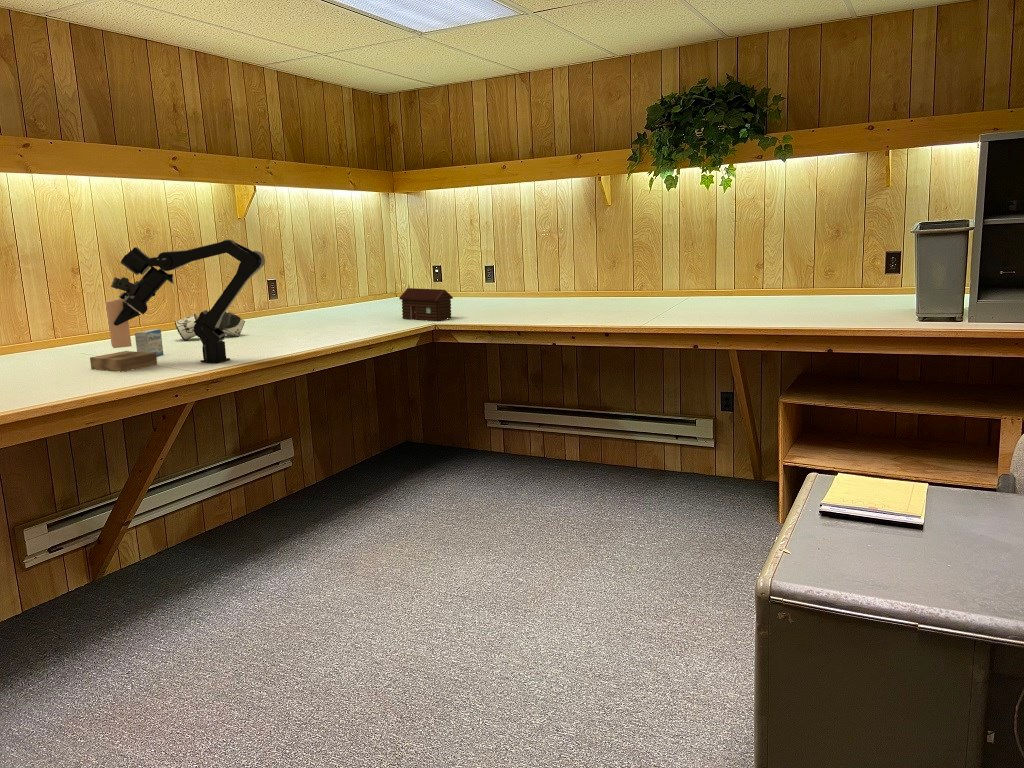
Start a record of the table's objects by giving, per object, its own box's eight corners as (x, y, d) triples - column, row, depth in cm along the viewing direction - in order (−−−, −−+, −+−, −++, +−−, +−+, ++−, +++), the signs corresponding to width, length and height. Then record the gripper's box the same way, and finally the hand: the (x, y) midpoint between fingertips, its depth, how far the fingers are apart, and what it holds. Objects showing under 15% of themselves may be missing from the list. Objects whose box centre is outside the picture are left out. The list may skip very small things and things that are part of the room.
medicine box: (149, 358, 256) (146, 332, 255) (137, 358, 257) (134, 332, 255) (163, 354, 264) (161, 328, 262) (151, 354, 265) (149, 328, 263)
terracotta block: (129, 344, 244) (123, 299, 241) (131, 346, 240) (125, 300, 237) (111, 346, 241) (105, 300, 238) (113, 348, 237) (106, 301, 234)
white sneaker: (179, 343, 289) (176, 316, 287) (174, 340, 298) (171, 313, 296) (249, 336, 303) (247, 311, 301) (242, 334, 311) (240, 308, 309)
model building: (400, 319, 350) (398, 285, 347) (416, 316, 359) (415, 283, 356) (437, 322, 339) (436, 287, 336) (453, 319, 349) (452, 284, 346)
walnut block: (157, 365, 246) (156, 353, 245) (121, 373, 234) (120, 360, 233) (127, 363, 251) (126, 350, 250) (91, 370, 239) (89, 357, 238)
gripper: (122, 266, 245) (87, 304, 242) (130, 268, 230) (92, 309, 226) (153, 289, 251) (119, 327, 248) (162, 293, 235) (126, 333, 232)
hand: (113, 323), depth 238 cm, fingers closed on terracotta block, 5 cm apart
